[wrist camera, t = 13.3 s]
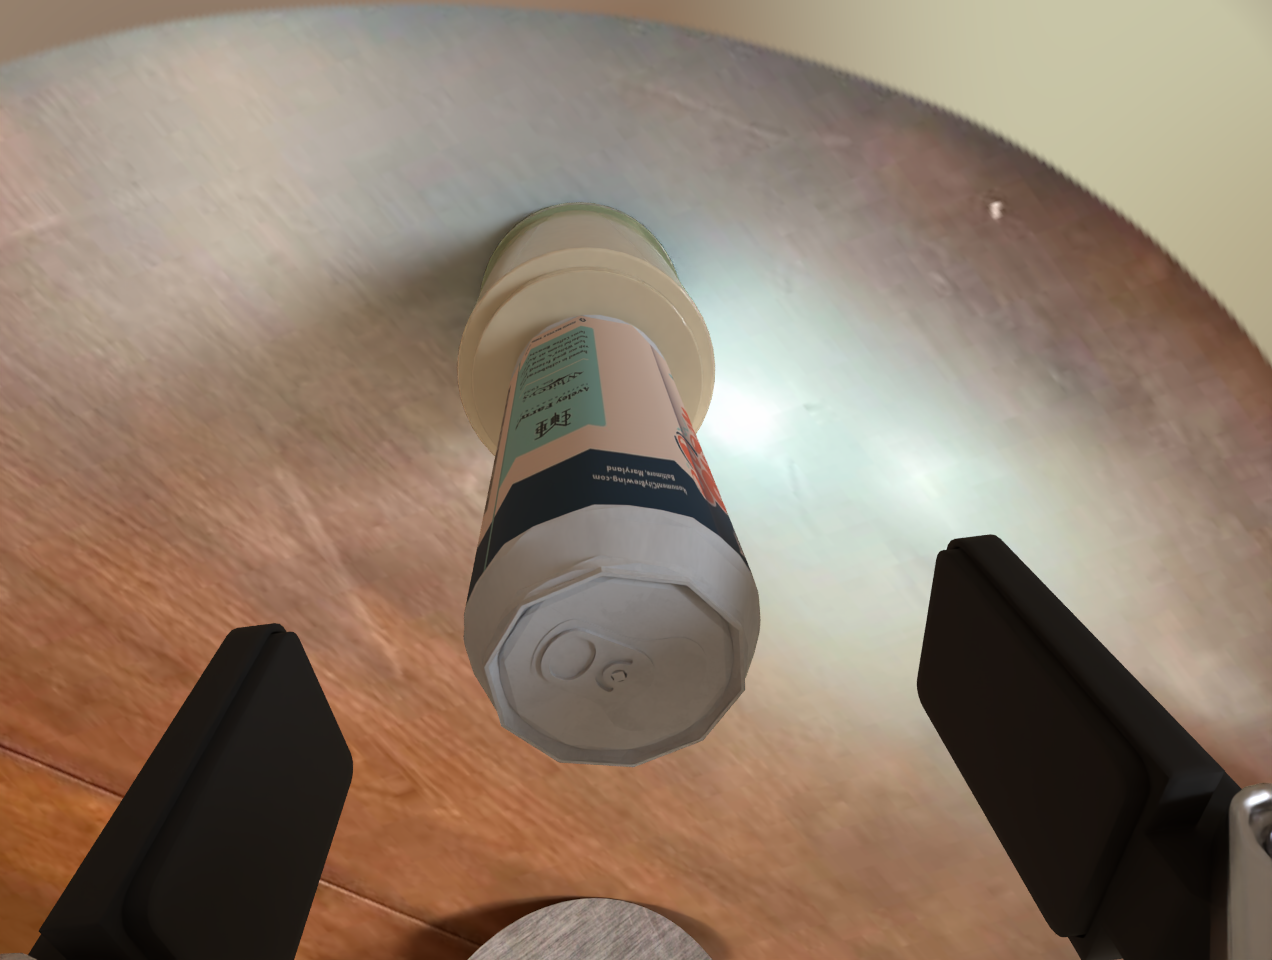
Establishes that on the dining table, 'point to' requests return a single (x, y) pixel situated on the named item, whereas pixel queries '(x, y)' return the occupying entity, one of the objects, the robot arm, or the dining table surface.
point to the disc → (592, 935)
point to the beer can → (606, 558)
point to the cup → (578, 304)
